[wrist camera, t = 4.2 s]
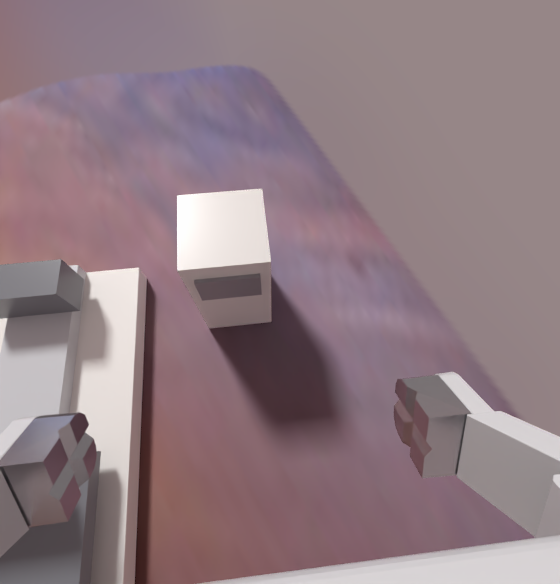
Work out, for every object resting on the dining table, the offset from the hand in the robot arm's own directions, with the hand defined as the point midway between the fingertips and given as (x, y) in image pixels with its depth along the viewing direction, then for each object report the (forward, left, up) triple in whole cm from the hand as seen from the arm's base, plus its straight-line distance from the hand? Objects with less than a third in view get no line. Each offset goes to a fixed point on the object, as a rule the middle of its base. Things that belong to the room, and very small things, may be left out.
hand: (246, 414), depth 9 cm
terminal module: (+8, +1, -11) cm, 14 cm away
